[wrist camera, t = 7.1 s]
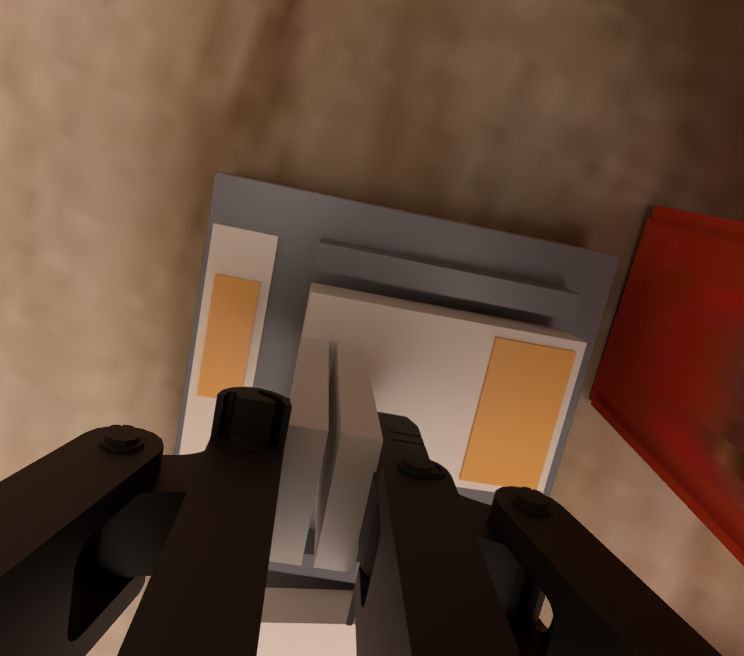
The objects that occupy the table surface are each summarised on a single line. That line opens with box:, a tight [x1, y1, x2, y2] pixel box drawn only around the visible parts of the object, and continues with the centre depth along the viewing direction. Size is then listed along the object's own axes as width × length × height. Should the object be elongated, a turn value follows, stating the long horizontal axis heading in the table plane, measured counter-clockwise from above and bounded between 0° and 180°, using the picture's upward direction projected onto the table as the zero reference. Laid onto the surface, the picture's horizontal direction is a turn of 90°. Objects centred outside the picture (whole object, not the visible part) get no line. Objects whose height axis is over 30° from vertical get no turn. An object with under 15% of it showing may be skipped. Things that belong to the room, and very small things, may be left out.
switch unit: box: [174, 172, 620, 590], centre depth 23 cm, size 30×13×4 cm, turn 168°
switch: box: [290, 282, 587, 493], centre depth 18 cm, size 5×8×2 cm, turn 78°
